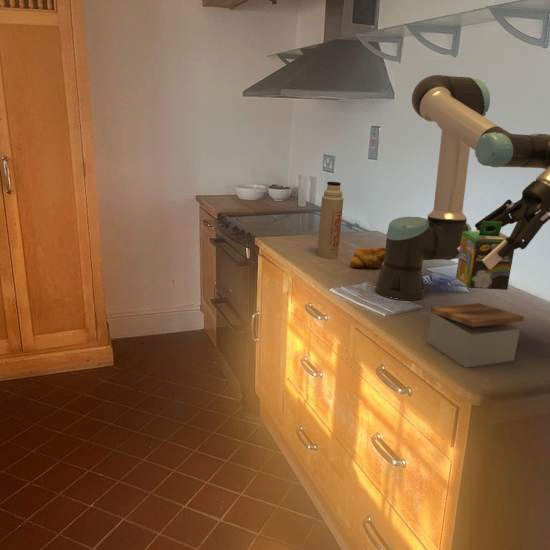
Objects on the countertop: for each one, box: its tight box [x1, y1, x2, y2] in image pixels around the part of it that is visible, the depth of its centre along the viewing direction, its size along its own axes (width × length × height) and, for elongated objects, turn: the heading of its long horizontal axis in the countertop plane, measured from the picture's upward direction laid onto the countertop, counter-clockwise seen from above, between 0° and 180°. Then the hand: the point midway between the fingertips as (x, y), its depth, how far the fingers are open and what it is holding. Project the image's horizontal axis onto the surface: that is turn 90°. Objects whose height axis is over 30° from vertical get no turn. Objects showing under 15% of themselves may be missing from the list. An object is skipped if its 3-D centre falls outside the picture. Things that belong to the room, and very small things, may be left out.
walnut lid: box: [430, 302, 525, 327], centre depth 130 cm, size 15×14×1 cm
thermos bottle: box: [316, 181, 344, 260], centre depth 206 cm, size 8×8×28 cm
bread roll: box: [349, 247, 386, 270], centre depth 198 cm, size 13×10×8 cm
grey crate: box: [427, 312, 521, 368], centre depth 131 cm, size 14×14×8 cm
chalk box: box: [455, 221, 515, 291], centre depth 125 cm, size 9×9×15 cm
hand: (472, 258), depth 125 cm, fingers closed on chalk box, 10 cm apart
